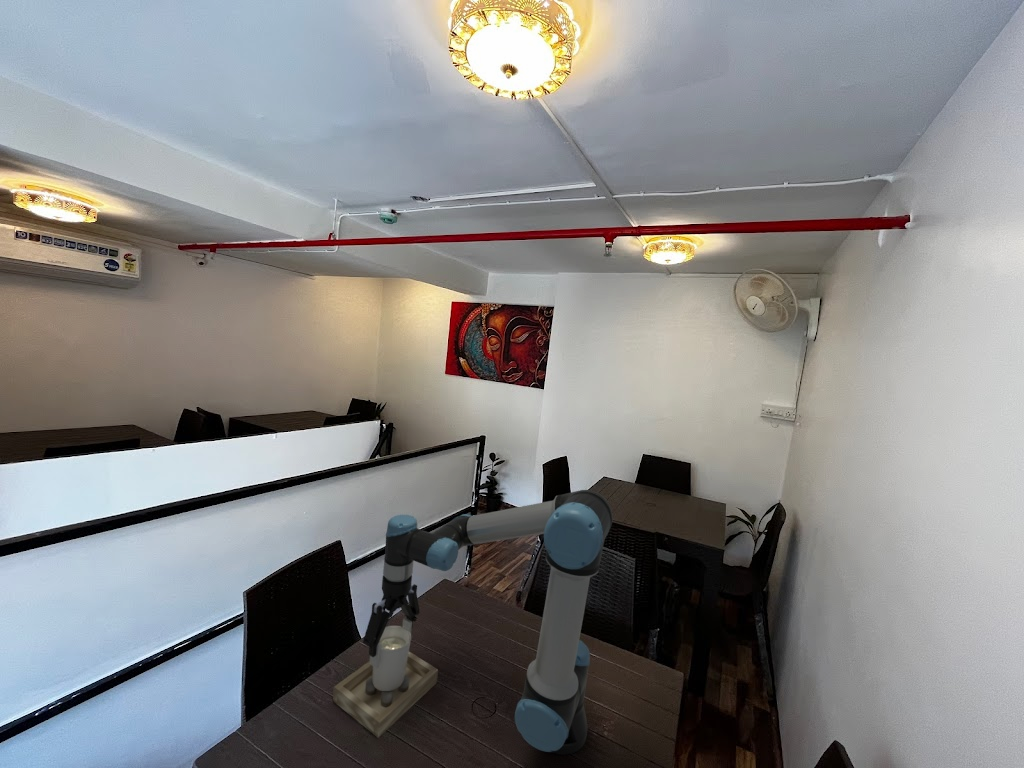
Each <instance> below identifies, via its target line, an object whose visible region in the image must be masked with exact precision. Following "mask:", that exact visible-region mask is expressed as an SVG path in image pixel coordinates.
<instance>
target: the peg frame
mask: <svg viewBox="0 0 1024 768" xmlns="http://www.w3.org/2000/svg"><path fill="white" fill-rule="evenodd" d="M372 672H373V666H372V665H370V660H369V661H367V662H366V663H365V664H363V665H362V666H361V667H359V668H358V669H357V670H355V671H354V672H352V673H350V675H348V676H347V677H345V678H344V679H342V681H340V682H338V683H337V684H336V685H334V686H333V695H332V702H333V703H335V704H336V705H337V706H338V707H339V708H341V709H342V710H343V711H345V713H347V714H348V715H349V716H350V717H352V718H353V719H354V720H355V721H357V723H359V724H360V725H362V727H364V728H365V729H366V730H368V731H369V732H370V733H371V734H372V735H373V736H375V737H376V738H377V739H379V738H380V737H381V736H382V735H383V734H384V733H385V732H387V730H388V729H389V728H391V727H392V726H393V725H394V724H395V723H396V722H397V721H398V720H399V719H400V718H401V717H403V715H404V714H405V713H407V712H408V711H409V710H410V709H411V708H412V707H413V706H414V705H415V704H416V703H417V702H419V701H420V699H422V698H423V697H424V696H425V695H426V694H427V693H428V691H430V690H431V689H432V688H434V687H435V685H437V683H438V675H439V669H438V668H436V667H435V666H433V665H431V664H430V663H429V662H427V661H425V660H423V659H422V658H420V657H419V656H417V655H416V654H415V653H412V652H411V651H409V653H408V659H407V665H406V671H405V677H404V681H403V683H402V684H401V685H400V686H399V687H398V688H397V689H395V690H392V691H380V690H378V689H376V688H375V687H374V685H373V682H372Z"/></svg>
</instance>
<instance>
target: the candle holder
mask: <svg viewBox="0 0 1024 768" xmlns="http://www.w3.org/2000/svg"><path fill="white" fill-rule="evenodd" d="M411 641H412V632H411V633H410V632H409V631H408V630H407V629H405V628H404V627H402V626H401V625H388V626H386V627H385V629H384V632H383V634H382V636H381V639H380V641H379V642H380V643H381V650H380V661H379V667H378V668H377V669H376V668H375V667H373V672H372V682H373V685H374V687H375V688H376V689H378V690H380V691H392V690H395V689H397V688H398V687H399V686H400V685H401V684H402V683H403V681H404V677H405V671H406V665H407V659H408V653H409V652H410V648H411V647H410V646H411Z"/></svg>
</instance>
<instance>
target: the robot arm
mask: <svg viewBox="0 0 1024 768" xmlns="http://www.w3.org/2000/svg"><path fill="white" fill-rule="evenodd" d="M613 519H614V516H613V509H612V507H611V504H610V503H609V501H608V499H606V498H605V497H604V495H602V494H601V493H599V492H596V491H594V490H591V489H580V490H576V491H571V492H567V493H564V494H558V495H556V496H555V497H554V499H553V500H548V501H542V502H538V503H533V504H528V505H523V506H522V505H521V506H518V507H517V506H516V507H513V508H512V507H511V508H506V509H503V510H502V509H501V510H497V511H490V512H486V513H480V514H475V515H470V514H468V513H467V514H466V513H465V514H464V513H463V514H461V515H459V516H456V517H454V518H453V519H452V520H450V521H449V522H447V523H446V524H444V525H443V526H442V527H439V528H438V529H436V530H435V531H434V532H429V531H426V530H423V529H420V528H418V520H417V518H415V517H414V516H413V515H410V514H398V515H394V516H392V517H390V519H389V520H388V522H387V527H386V533H385V547H384V548H385V552H384V560H383V570H382V574H383V575H382V579H381V590H382V595H383V596H382V598H381V601H380V602H378V603H377V602H373V603H372V606H371V614H370V617H369V620H368V624H367V627H366V629H365V630H366V631H365V634H364V637H363V641H362V642H363V644H364V645H366V646H368V647H369V648H368V655H369V661H370V665H372V666H373V667H375V668H376V669H377V668H378V667H379V661H380V650H381V643H380V642H379V641H380V639H381V636H382V634H383V632H384V629H385V627H387V625H388V622H389V621H390V618H393V616H394V615H393V614H394V613H395V612H396V611H397V610H398V609H400V608H401V611H402V612H403V614H404V616H405V617H403V618H402V626H401V627H404V628H405V629H407V630H408V631H409V632H410V633H411V634H412V630H413V624H414V622H416V621H417V619H418V617H417V616H418V615H419V614H420V605H419V599H418V595H417V594H418V593H417V592H418V585H417V584H415V583H413V582H412V581H413V571H414V570H413V569H414V562H417V563H419V564H420V565H423V566H426V567H429V568H430V569H433V570H438V571H441V572H447V571H450V570H451V569H452V568H453V566H454V564H455V563H456V561H457V559H458V555H459V550H460V549H462V548H464V547H467V546H473V545H479V544H480V545H481V544H485V543H486V544H487V543H491V542H497V541H498V542H499V541H505V540H511V539H518V538H524V537H532V536H537V535H543V542H544V546H545V547H544V548H545V550H546V551H545V552H546V553H545V560H546V563H547V564H548V565H549V567H550V573H549V577H548V584H547V590H546V595H545V596H546V597H545V602H544V609H543V613H542V622H541V624H540V625H541V627H540V632H539V639H538V643H537V651H536V656H535V657H536V658H535V659H533V660H532V661H531V662H530V663H529V665H528V666H527V671H526V675H525V682H524V687H523V692H522V696H521V699H520V700H519V701H518V702H517V704H516V708H515V712H514V722H515V726H516V728H517V731H518V732H519V733H520V734H521V737H522V738H523V739H524V740H525V741H526V743H528V744H529V746H531V747H533V748H534V749H537V750H539V751H542V752H546V753H552V754H554V755H555V754H556V755H563V756H564V755H565V756H567V755H571V754H574V753H577V752H578V751H579V750H581V749H582V748H583V746H584V745H585V743H586V740H587V734H588V719H587V715H586V710H585V709H586V708H585V705H584V703H585V698H586V697H585V695H586V689H587V688H586V687H587V680H588V674H589V673H588V672H589V667H590V666H589V665H591V660H590V658H591V657H590V656H591V655H590V654H591V652H590V650H589V647H588V646H587V645H586V644H585V643H584V641H582V640H581V639H580V637H581V632H582V631H581V630H582V626H583V620H584V615H585V608H586V603H587V597H588V591H589V585H590V580H591V578H592V577H594V576H596V575H597V574H598V573H599V570H600V566H601V561H602V555H603V548H604V544H605V539H606V537H607V536H608V534H609V532H610V530H611V528H612V524H613Z"/></svg>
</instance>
